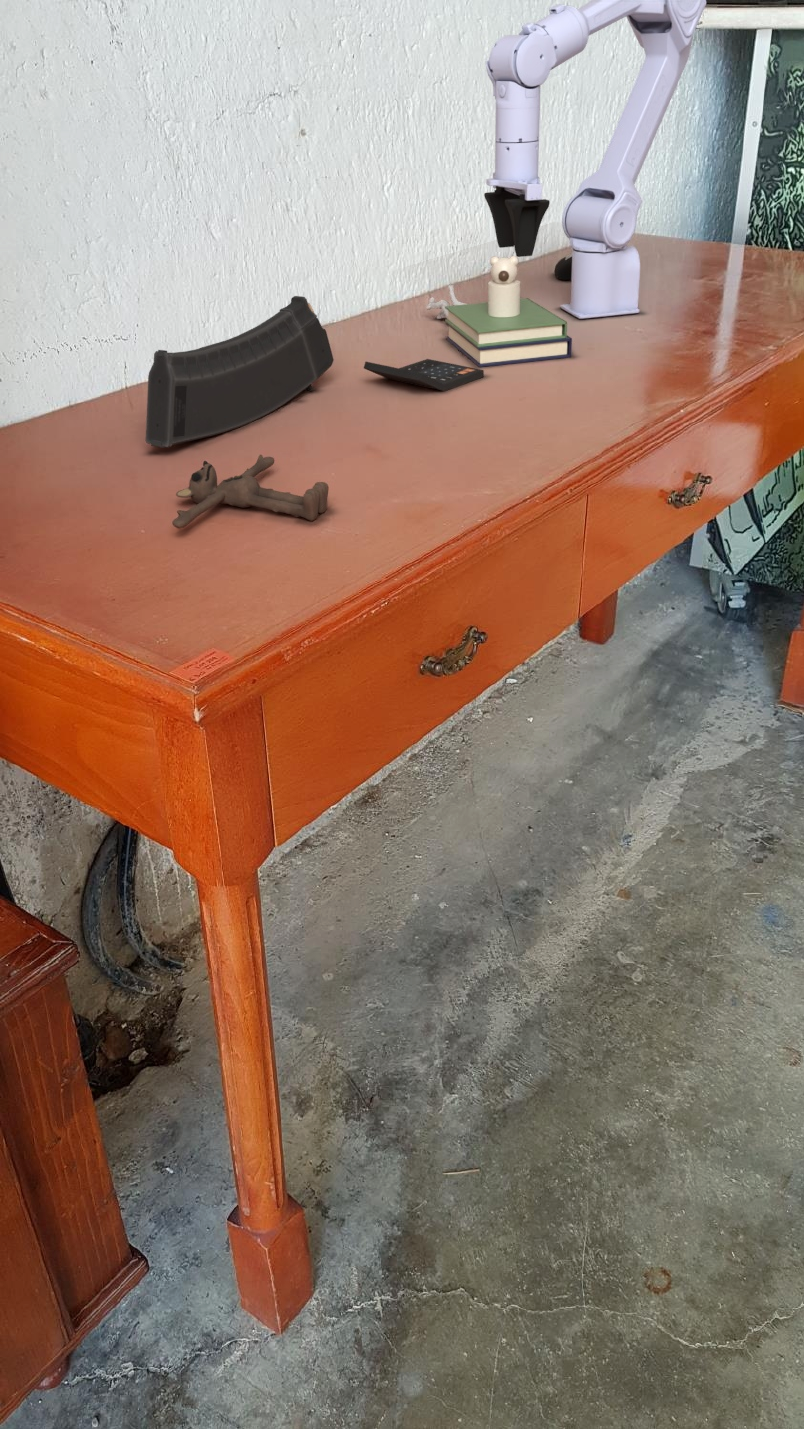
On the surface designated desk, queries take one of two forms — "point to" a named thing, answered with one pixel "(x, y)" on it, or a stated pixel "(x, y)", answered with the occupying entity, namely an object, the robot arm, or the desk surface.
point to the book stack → (507, 334)
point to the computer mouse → (564, 268)
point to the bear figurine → (247, 494)
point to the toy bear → (504, 288)
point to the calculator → (428, 374)
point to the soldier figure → (444, 303)
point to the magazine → (235, 377)
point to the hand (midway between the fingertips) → (515, 251)
